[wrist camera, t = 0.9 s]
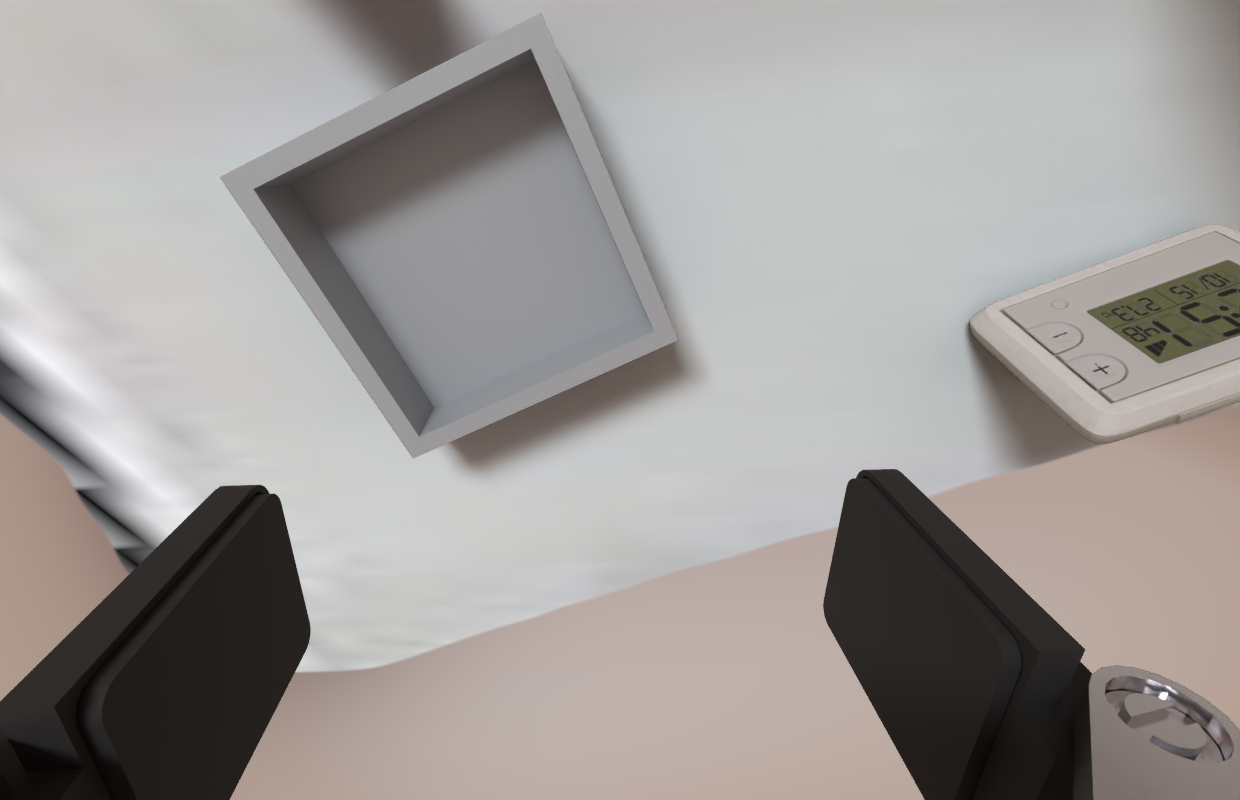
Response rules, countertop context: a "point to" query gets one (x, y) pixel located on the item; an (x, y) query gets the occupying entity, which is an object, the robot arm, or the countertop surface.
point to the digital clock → (1129, 336)
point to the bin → (461, 240)
